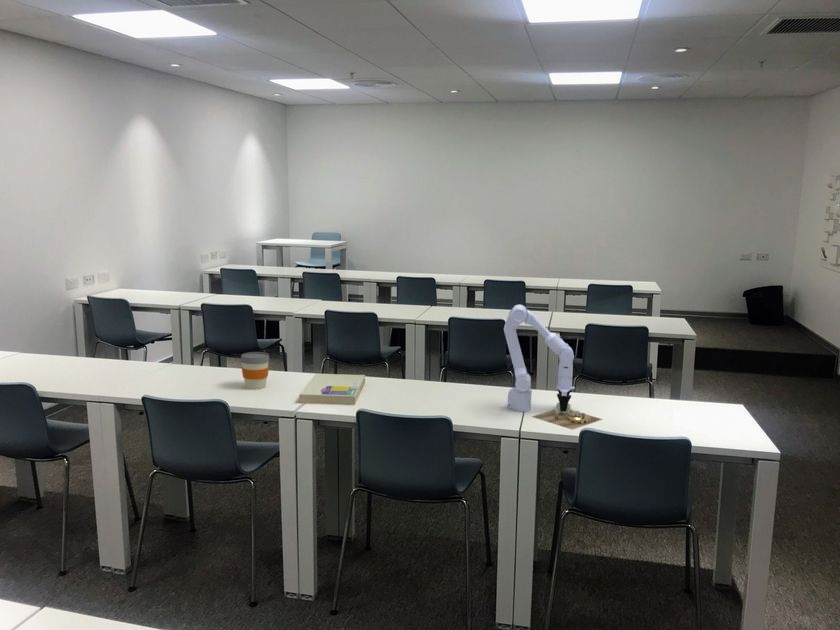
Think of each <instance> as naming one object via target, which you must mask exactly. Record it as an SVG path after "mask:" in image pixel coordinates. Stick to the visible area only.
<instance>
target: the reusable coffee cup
mask: <svg viewBox="0 0 840 630" xmlns="http://www.w3.org/2000/svg"><path fill="white" fill-rule="evenodd" d="M240 356H241V357H240V362H241V365H242V366H241V373H242V377H243V379H244V387H245V389H247V390H251V391H252V390H253V391H254V390H255V391H256V390H263V389H265V388H266V386H267V380H268V376H269V369H270V368H269V367H270V366H269V362H270V356H269V353H267V352H263V351H262V352H261V351H250V352H244V353H243V354H241V355H240Z"/></svg>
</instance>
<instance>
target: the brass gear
mask: <svg viewBox="0 0 840 630" xmlns="http://www.w3.org/2000/svg"><path fill="white" fill-rule="evenodd" d="M581 413H582V415H581V414H580V415H579V416H576V414H574V413H572V414H568V415H566V421H570V423H575V424H578V423H580V424H583V423H588V422H589V416H585V412H581Z"/></svg>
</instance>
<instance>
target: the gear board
mask: <svg viewBox="0 0 840 630" xmlns="http://www.w3.org/2000/svg"><path fill="white" fill-rule="evenodd" d="M572 413H574V414H576V416H579V415H580V414H581V415H582V413H583V412H580V411H579V410H572V409H570V412H569V413H565V414H563V413H559V410H558V409H556V408H555V409H552V410H549V411H545V412H542V413H538V414H535V415H532V416H531V417H532V418H533V419H538V420H541V421H544V422H547V423H550V424H553V425H556V426H560V427H562V428H565V429H569V430H576V429H579V428H582V427H585V426H587V425H591V424H593V423H596V422H599V421H603V418H600V417H597V416H593V415H589V414H585V416H589V422H588V423H583V424H580V423H578V424H575V423H570V421H566V415H568V414H572Z"/></svg>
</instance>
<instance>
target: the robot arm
mask: <svg viewBox="0 0 840 630" xmlns="http://www.w3.org/2000/svg"><path fill="white" fill-rule="evenodd" d="M523 322H524V324H525V325H528V326H529V325H531V326H532V327H533V329H535V330H536V331H537V332H538V333H539V334H540V335H541V336H542V337H543V338H544V343H545V344H546V345H547V346H548V348H550V350H551V351H552V352H554V353H555V355H558V359H559V360H558V361H559V363H558V366H557V367H558V369H557V385H556V389H557V391H558V393H556V397H557V399H558V402H559V403H560V410H561V411H566V410H567V406H568V404H569V402H570V399H571V398H572V394H571V392H572V390H575V386H573V372H574V371H573V370H574V368H573V367H574V365H573V364H574V358H575V355H574V351H573V348H572V346H569V344H568V343H566V342H565V341H564V340H563V339H562V338H561V335H560V334H559V333H558V334H557V333H556V332H550V330H549V329H548V328H547V327H546V326H545V325H544V324H543V322H541V320H540V319H539V318H538V317H537V316H536V315H535V314H533V312H532V311H530V310H529V309H528V308H527V307H526V306H525V305H523V304H516V305H514V306H513V307H512V308H511V309H510V311H509V313H508V316H507V317H506V320H505V323H504V327H503V332H504V336H505V339H506V344H507V348H508V352H509V354H510V360H511V362H512V365H513V366H512V367H513V370H514V377H515V383H514V384H515V385H514V386H515V387H512V388H510V389H509V390H508V393H507V408H509V409H511V410H514V411H516V412H522V413H523V412H524V413H525V412H530V411H531V410H532V391H533V390H532V388H531V386H532V383H531V382H532V377H531V374H529V373H528V371H527V367H526V365H525V362H524V356H523V353H522V349H521V346H520V342H519V339H518V334H517V329H518V327H519V326H520V325H521V324H522V323H523ZM570 394H571V395H570Z"/></svg>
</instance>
